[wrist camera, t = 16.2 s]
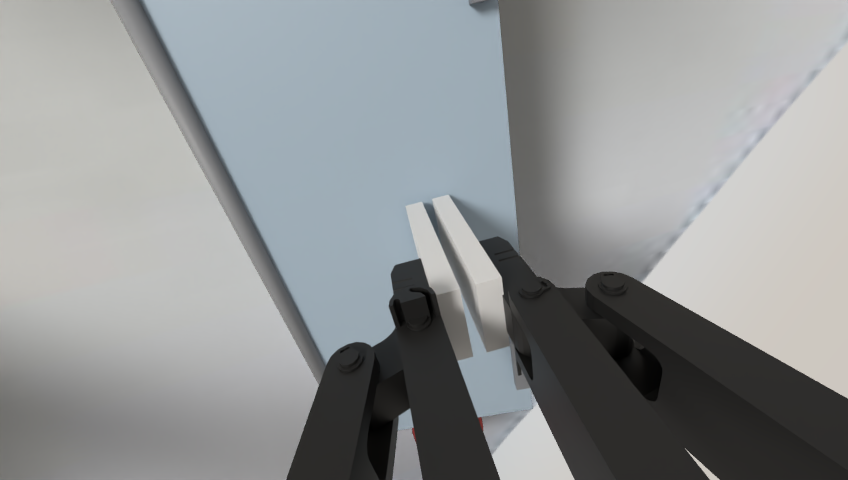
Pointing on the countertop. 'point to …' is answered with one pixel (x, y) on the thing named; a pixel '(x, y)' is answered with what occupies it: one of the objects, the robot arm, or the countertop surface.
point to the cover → (343, 149)
